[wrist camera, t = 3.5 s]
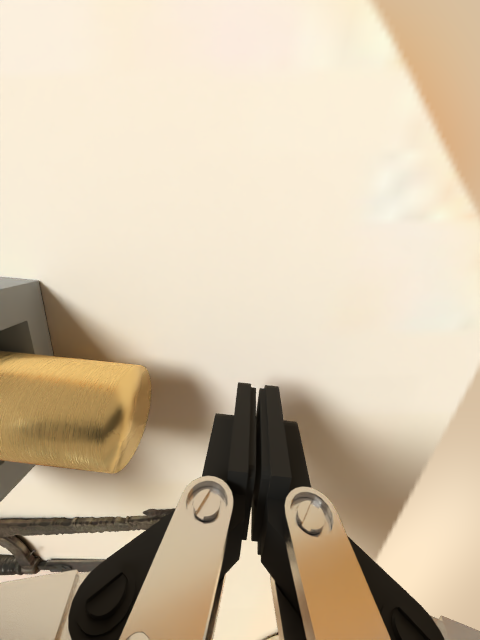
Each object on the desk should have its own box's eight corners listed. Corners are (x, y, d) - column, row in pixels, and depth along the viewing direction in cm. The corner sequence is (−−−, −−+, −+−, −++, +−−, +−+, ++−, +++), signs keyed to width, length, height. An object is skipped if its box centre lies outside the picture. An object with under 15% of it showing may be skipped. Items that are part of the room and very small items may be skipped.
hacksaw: (-32, 558, 20) (-54, 583, 19) (-96, 465, 17) (-129, 486, 16) (261, 570, 19) (262, 599, 17) (255, 468, 15) (255, 492, 14)
